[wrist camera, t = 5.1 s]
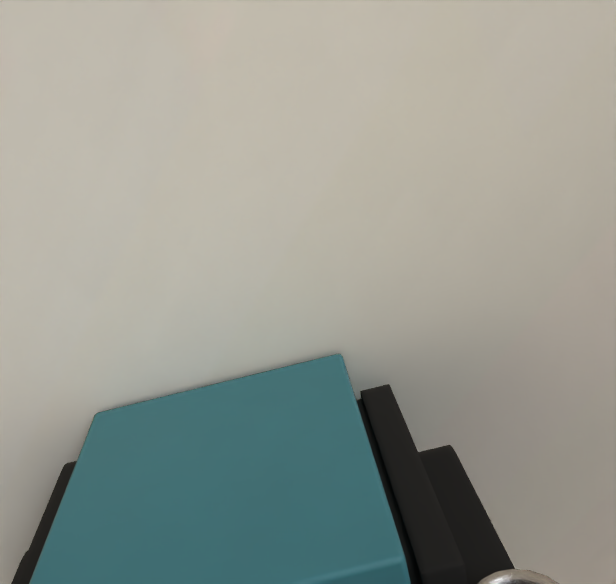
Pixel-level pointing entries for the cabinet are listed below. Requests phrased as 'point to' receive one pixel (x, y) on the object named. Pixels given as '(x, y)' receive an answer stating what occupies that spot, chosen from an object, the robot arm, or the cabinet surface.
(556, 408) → the cabinet surface
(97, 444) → the letter s
